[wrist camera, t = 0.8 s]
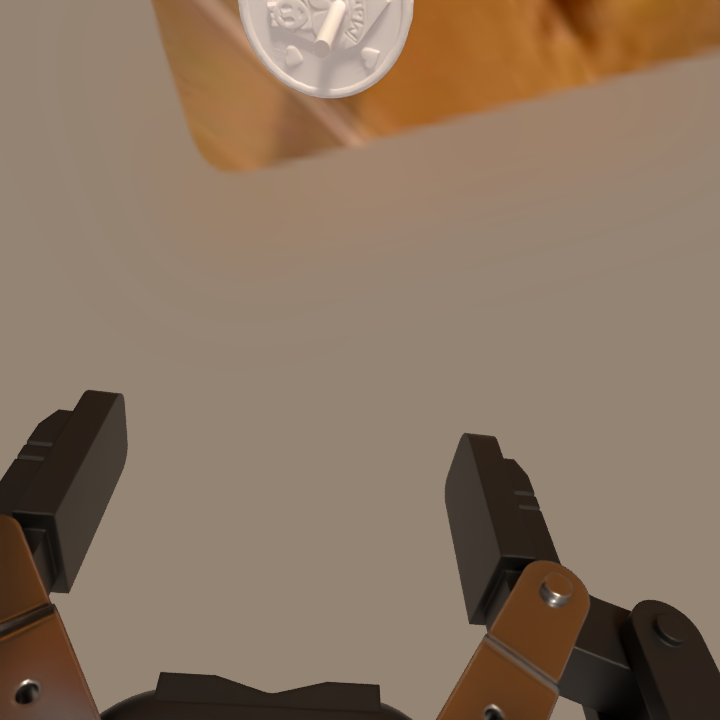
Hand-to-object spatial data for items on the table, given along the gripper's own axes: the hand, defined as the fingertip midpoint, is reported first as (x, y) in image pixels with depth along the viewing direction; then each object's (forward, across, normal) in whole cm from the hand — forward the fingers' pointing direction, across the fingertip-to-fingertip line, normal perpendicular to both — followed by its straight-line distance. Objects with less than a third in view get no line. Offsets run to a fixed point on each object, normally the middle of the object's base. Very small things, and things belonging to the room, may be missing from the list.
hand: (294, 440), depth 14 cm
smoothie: (+23, 0, -10) cm, 26 cm away
